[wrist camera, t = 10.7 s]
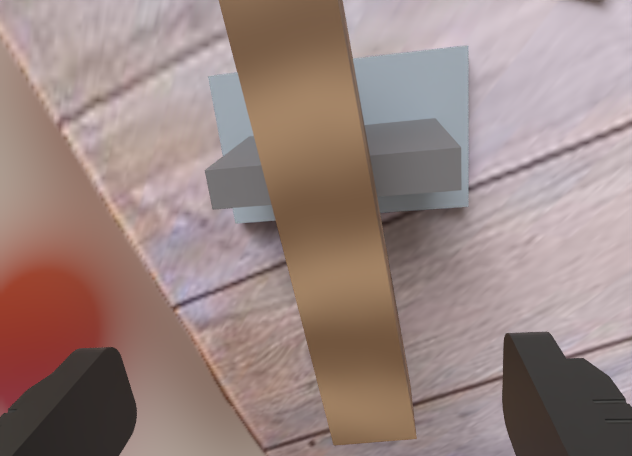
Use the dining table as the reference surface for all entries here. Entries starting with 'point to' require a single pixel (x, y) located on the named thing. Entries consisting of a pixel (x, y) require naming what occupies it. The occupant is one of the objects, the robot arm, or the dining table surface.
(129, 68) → the dining table surface
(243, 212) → the fulcrum board
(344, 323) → the walnut bar
